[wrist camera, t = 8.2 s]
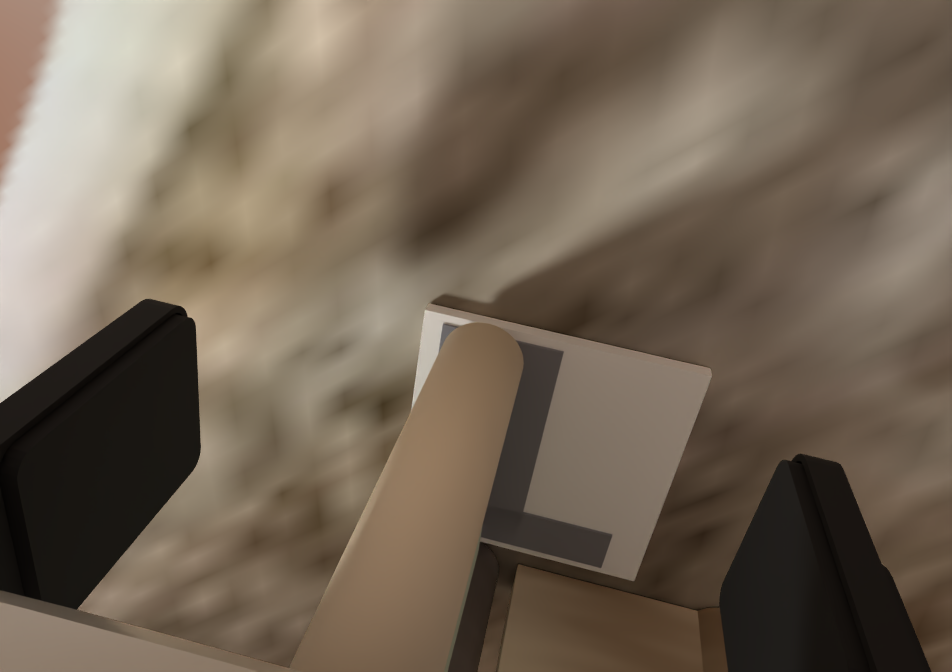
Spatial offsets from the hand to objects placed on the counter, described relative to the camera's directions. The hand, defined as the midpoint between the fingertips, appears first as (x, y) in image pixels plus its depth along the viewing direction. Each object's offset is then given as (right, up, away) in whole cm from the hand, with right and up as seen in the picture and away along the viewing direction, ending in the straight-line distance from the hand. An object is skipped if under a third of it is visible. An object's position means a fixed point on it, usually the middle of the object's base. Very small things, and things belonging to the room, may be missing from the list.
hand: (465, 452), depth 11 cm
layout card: (+1, -1, +4) cm, 4 cm away
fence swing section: (0, 0, +3) cm, 3 cm away
